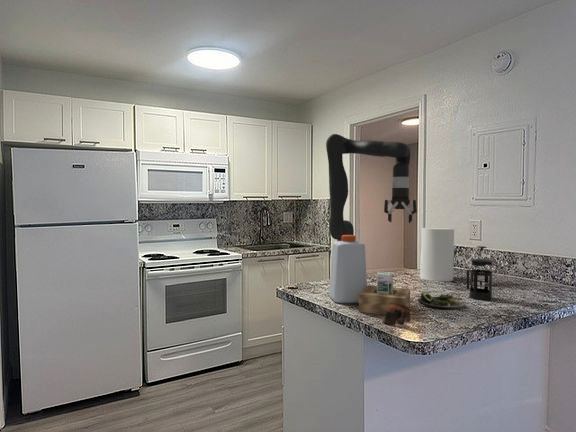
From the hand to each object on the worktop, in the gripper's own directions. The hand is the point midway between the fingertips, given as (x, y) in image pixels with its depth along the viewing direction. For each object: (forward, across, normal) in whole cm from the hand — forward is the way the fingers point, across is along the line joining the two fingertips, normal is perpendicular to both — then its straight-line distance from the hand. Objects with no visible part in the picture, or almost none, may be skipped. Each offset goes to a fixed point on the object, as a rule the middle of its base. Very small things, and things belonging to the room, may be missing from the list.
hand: (400, 222), depth 185 cm
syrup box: (+33, -2, -29) cm, 44 cm away
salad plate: (+34, +18, -12) cm, 40 cm away
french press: (+33, +34, +7) cm, 48 cm away
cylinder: (+33, +14, +47) cm, 59 cm away
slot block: (+33, -1, -29) cm, 44 cm away
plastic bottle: (+33, -19, -20) cm, 43 cm away
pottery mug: (+33, +6, -46) cm, 57 cm away
